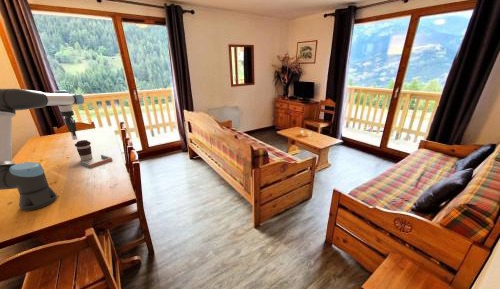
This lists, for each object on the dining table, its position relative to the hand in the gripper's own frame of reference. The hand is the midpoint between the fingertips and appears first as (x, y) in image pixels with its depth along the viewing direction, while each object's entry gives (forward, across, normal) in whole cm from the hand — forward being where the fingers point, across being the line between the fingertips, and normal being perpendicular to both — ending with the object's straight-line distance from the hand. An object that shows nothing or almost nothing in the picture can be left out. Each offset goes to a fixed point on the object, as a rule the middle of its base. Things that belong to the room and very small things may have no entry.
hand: (75, 139), depth 171 cm
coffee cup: (+15, -12, 0) cm, 19 cm away
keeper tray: (+15, -27, 0) cm, 31 cm away
